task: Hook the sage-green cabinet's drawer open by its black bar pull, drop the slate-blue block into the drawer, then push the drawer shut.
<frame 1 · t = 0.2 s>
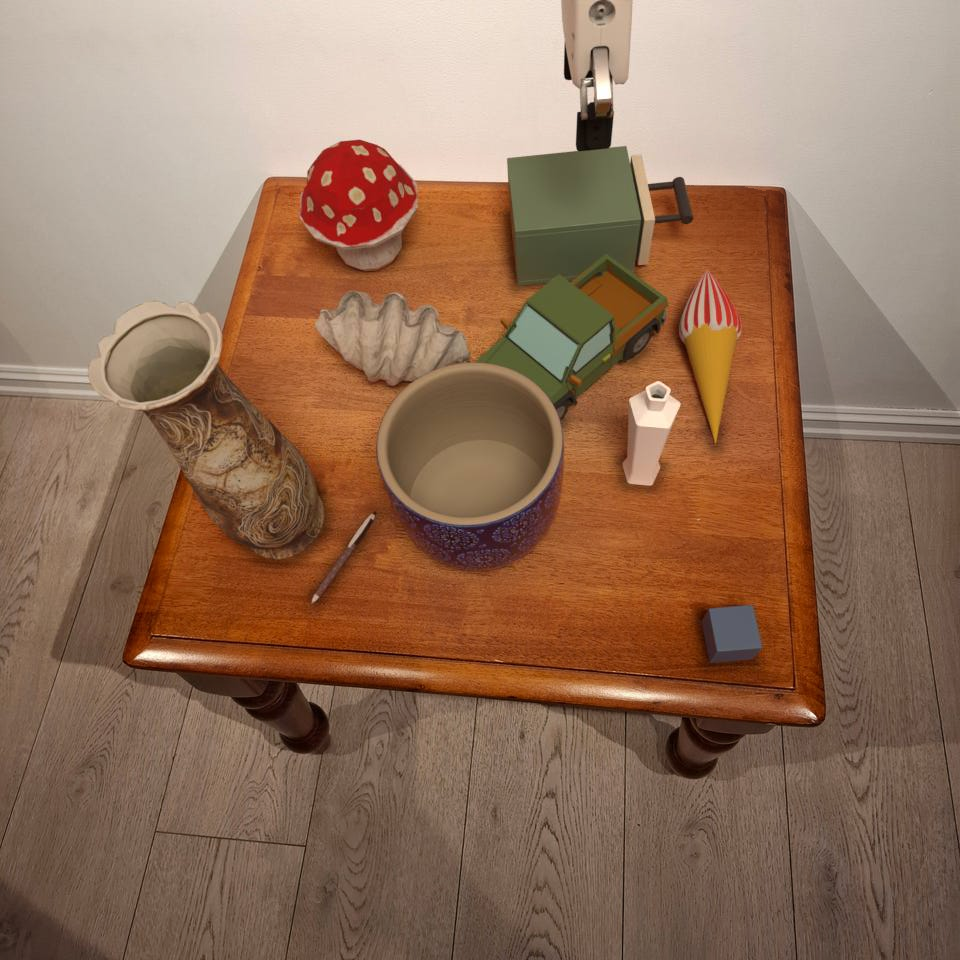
hand: (586, 111, 80), 22 cm above the table, tool pointing down, fingers open, 9 cm apart
perfume bottle: (642, 470, 87), on the table
block: (726, 640, 78), on the table
toy truck: (569, 364, 94), on the table
decorative mushroom: (372, 252, 103), on the table
ice cream cone: (703, 367, 92), on the table
seashell: (399, 365, 95), on the table
cabinet: (570, 244, 101), on the table
planter: (481, 511, 86), on the table
pen: (345, 558, 85), on the table
drawer: (611, 213, 97), point 5 cm above the table, slide at 0.5 cm
vase: (279, 520, 87), on the table
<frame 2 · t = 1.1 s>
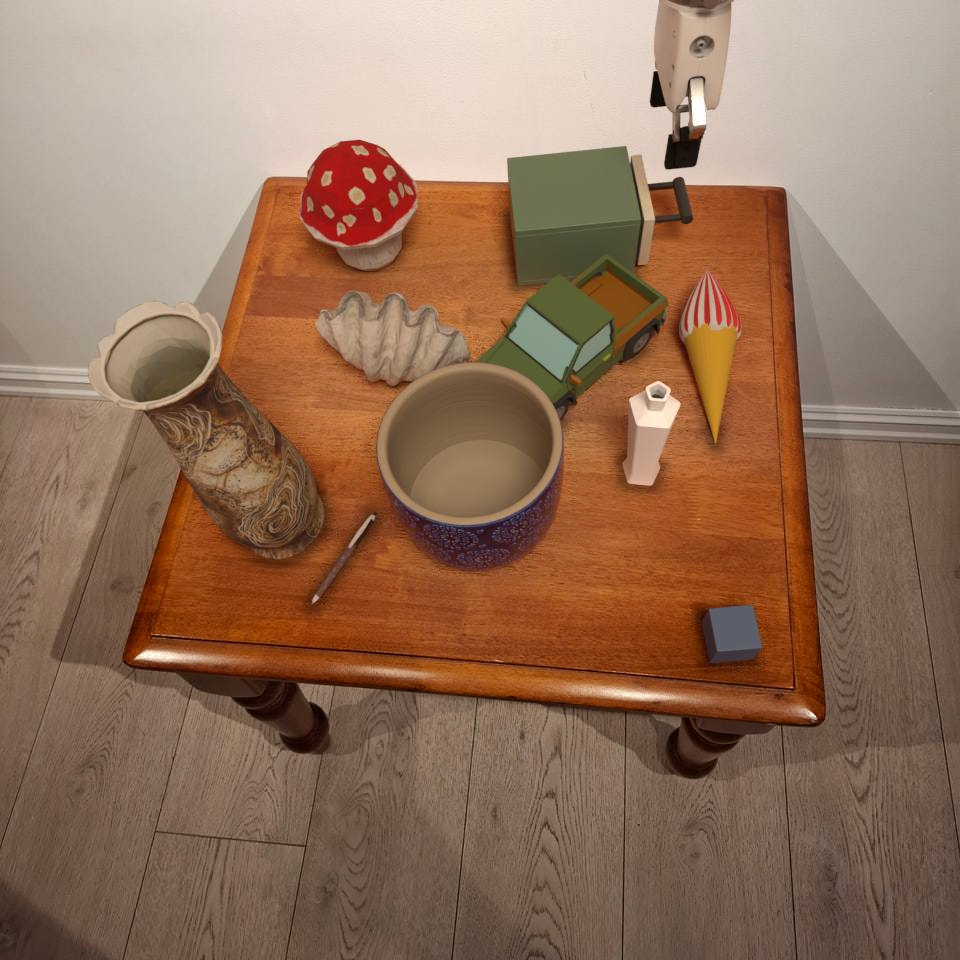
hand: (672, 134, 87), 15 cm above the table, tool pointing down, fingers open, 8 cm apart
nothing on the table moved.
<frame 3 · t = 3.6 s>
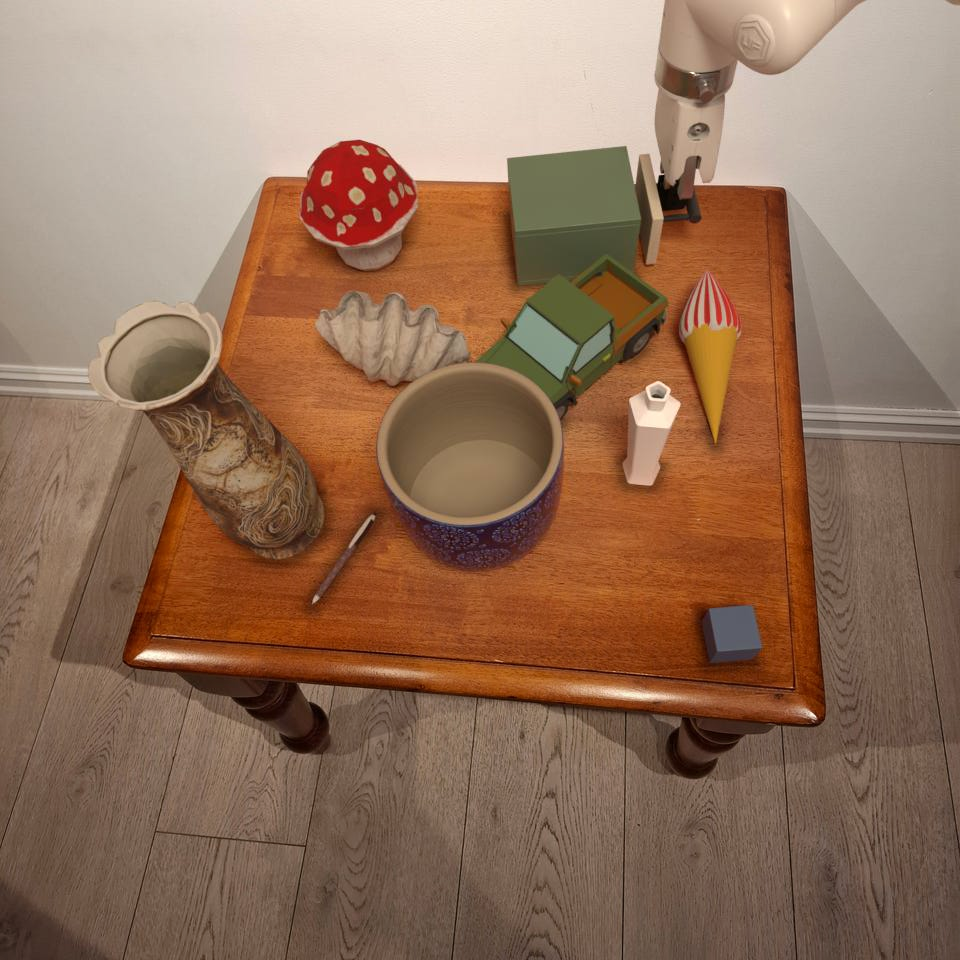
hand: (669, 205, 96), 5 cm above the table, tool pointing down, fingers closed
drawer: (619, 212, 97), point 5 cm above the table, slide at 1.4 cm
everything else where it was.
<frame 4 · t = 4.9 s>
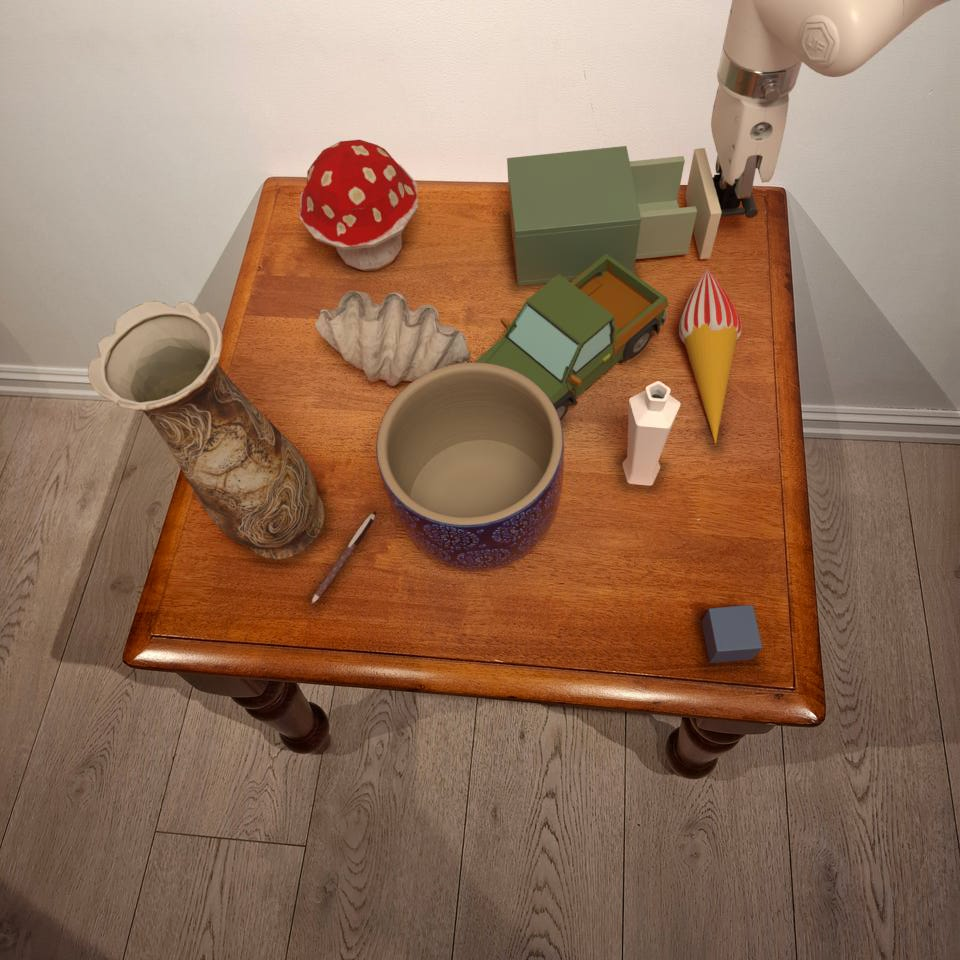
hand: (723, 204, 97), 4 cm above the table, tool pointing down, fingers closed
drawer: (674, 207, 97), point 5 cm above the table, slide at 7.7 cm, touching gripper
everything else where it was.
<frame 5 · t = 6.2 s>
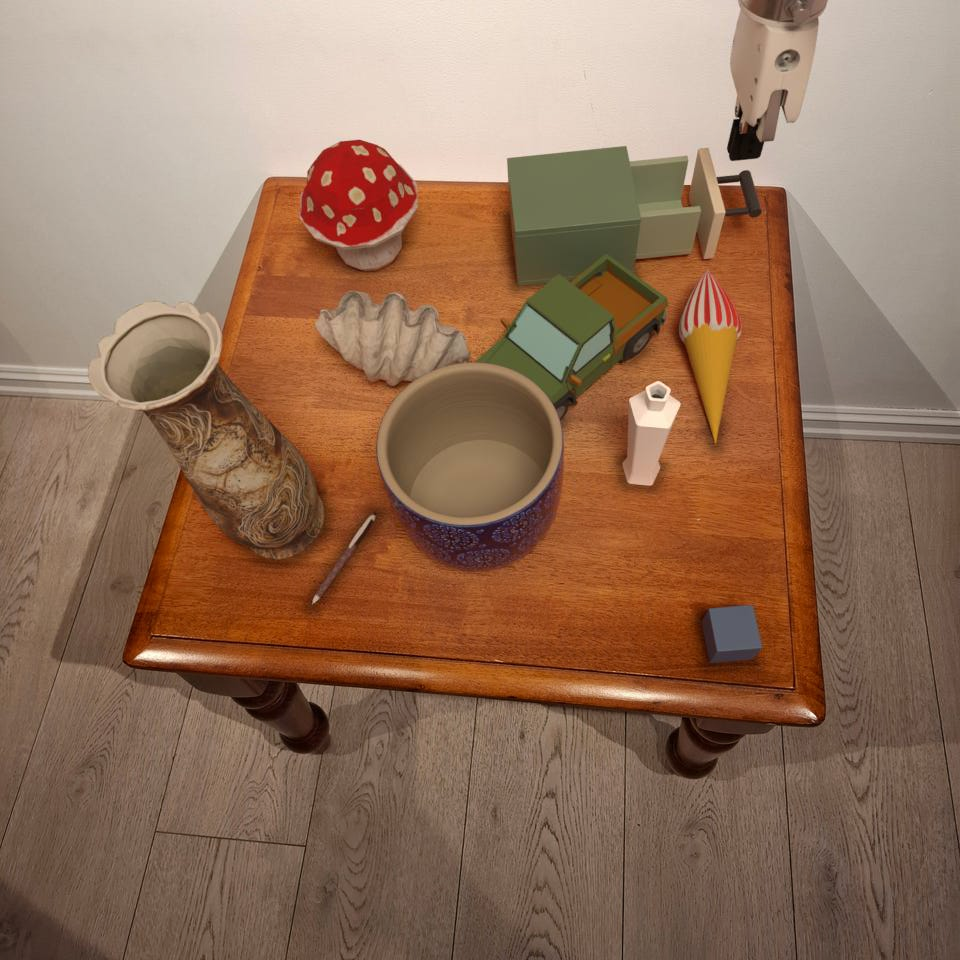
hand: (743, 154, 88), 13 cm above the table, tool pointing down, fingers closed
drawer: (678, 206, 97), point 5 cm above the table, slide at 8.1 cm
everything else where it was.
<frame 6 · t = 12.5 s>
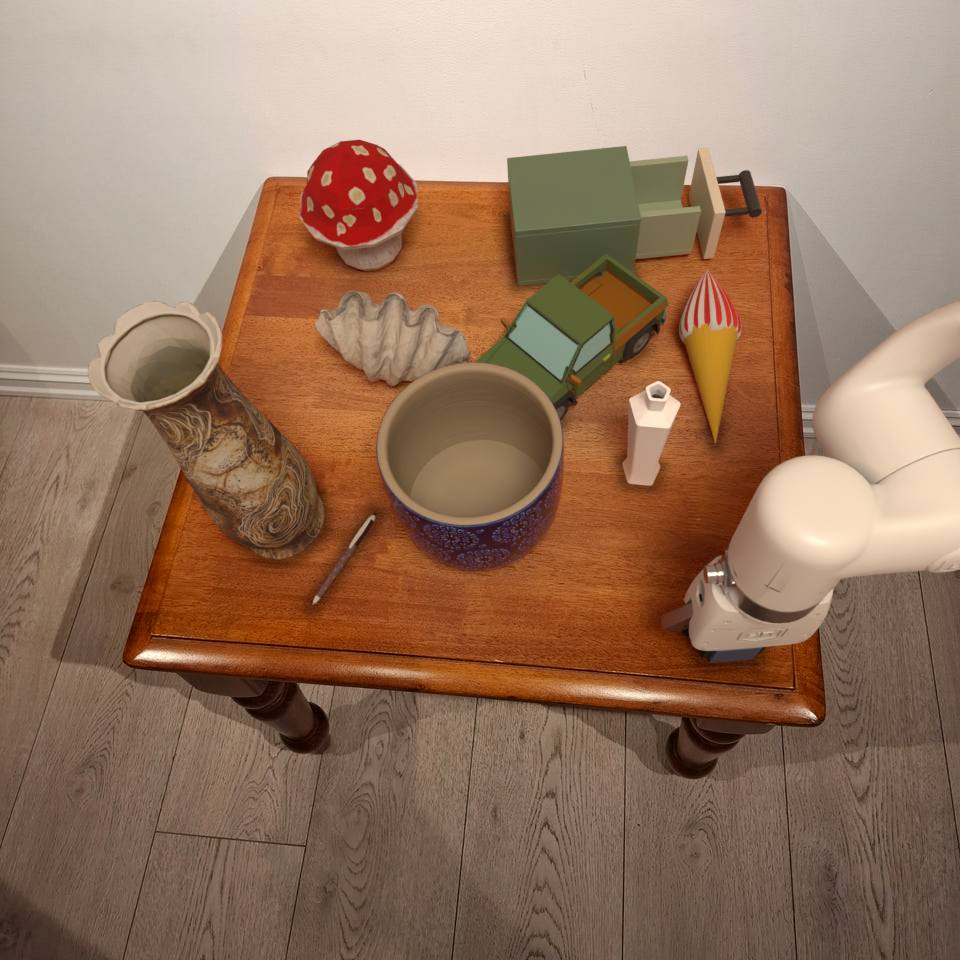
hand: (727, 639, 78), 0 cm above the table, tool pointing down, fingers closed on block, 4 cm apart
block: (726, 640, 78), on the table, touching gripper
everything else where it was.
when the fingers open (10 cm above the table, at t = 21.3 s): block drops 8 cm, resting on drawer.
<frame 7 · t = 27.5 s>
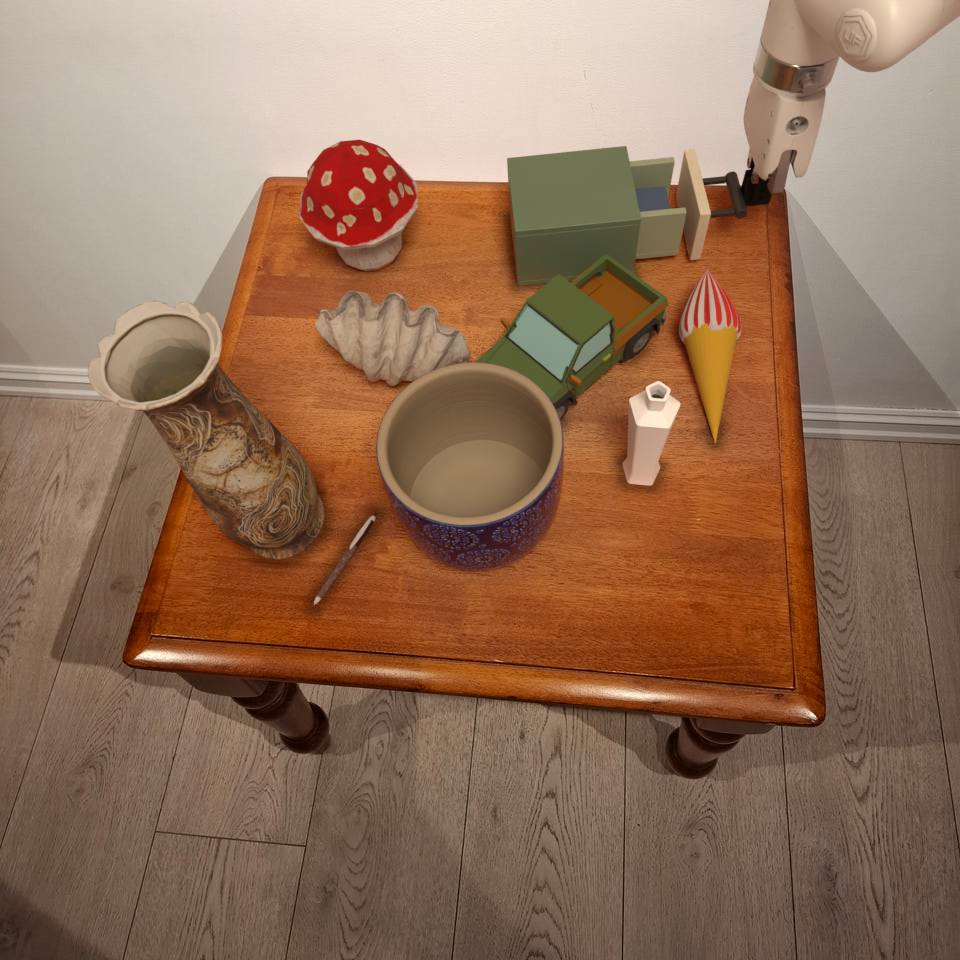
hand: (753, 200, 96), 4 cm above the table, tool pointing down, fingers closed
block: (646, 225, 99), point 2 cm above the table, touching drawer
drawer: (664, 208, 97), point 5 cm above the table, slide at 6.5 cm, touching block, gripper
everything else where it was.
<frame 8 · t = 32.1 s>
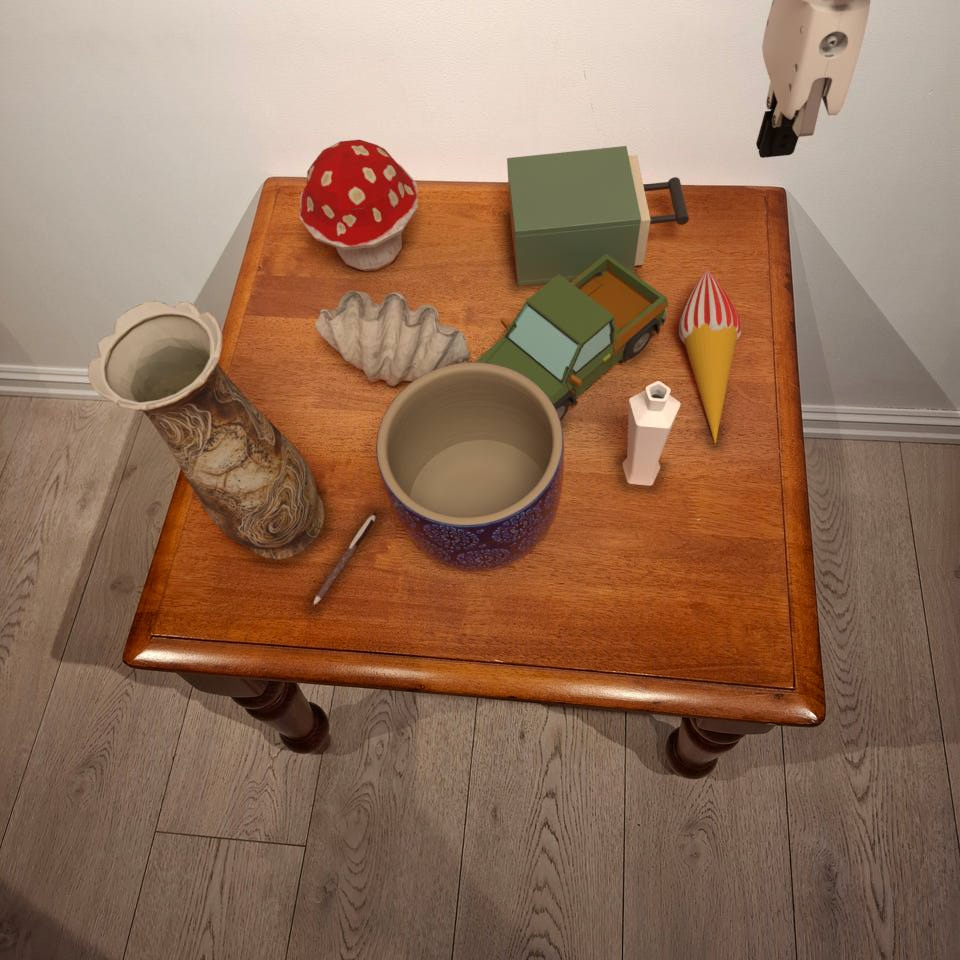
hand: (774, 150, 80), 19 cm above the table, tool pointing down, fingers closed
block: (590, 231, 99), point 2 cm above the table, touching drawer
drawer: (607, 213, 97), point 5 cm above the table, slide at 0.0 cm, touching block, cabinet
everything else where it was.
at the end: drawer pulled out 8.1 cm at the most during the clip, back to where it started at the end; block inside the target area in the cabinet (2.4 cm from its centre), point 2.0 cm above the cabinet's base; drawer slide at 0.0 cm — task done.
